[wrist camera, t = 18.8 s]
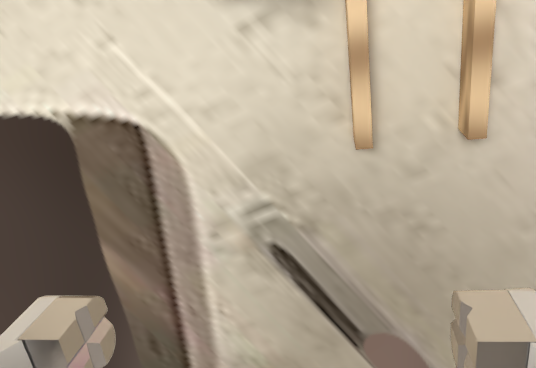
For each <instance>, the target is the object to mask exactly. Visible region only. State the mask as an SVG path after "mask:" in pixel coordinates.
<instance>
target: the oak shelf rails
mask: <svg viewBox="0 0 536 368" xmlns="http://www.w3.org/2000/svg"><path fill="white" fill-rule="evenodd" d="M345 2H346V19H347V35H348V51H349V68H350V84H351V100H352V117H353V133H354V142H355V148H356V150H357V149H369V148H373V142H372V119H371V96H370V72H369V49H368V26H367V2H366V0H345ZM495 10H496V0H464V4H463V28H462V52H461V76H460V100H459V124H458V129H459V130H460V131H461V132H462V133H463V135H464V136H465V137H466V138H467V139H468V140H471V139H483V138H487V124H488V110H489V95H490V81H491V67H492V53H493V38H494V24H495Z"/></svg>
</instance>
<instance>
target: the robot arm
mask: <svg viewBox="0 0 536 368" xmlns="http://www.w3.org/2000/svg"><path fill="white" fill-rule="evenodd" d="M451 307H452V310H453V312H454V315H455V318H456V319H455V320H454V321H453V322H452V323H451V346H452V352H453V357H454V361H455V364H456V367H457V368H536V291H535V290H533V289H532V288H512V289H504V290H465V291H453V295H452V305H451ZM107 310H108V309H107V306H106V304H105V301H104V299H103V298H101V297H99V296H43V297H40V298H38V299H37V300H36V301H35V302H34V303H33V304H32V305H31V306H30V307H29V308H28V309H27V310H26V311H25V312H24V313H23V314H22V315H21V316H20V317H19V318H18V319H17V320H16V321H15V322H14V323H13V324H12V325H11V326H10V327H9V328H8V329H7V330H6V331H5V332H4V333H3V334H2V335H1V336H0V368H102V367H104V366H105V365H107V363H108V361H109V360H110V358H111V356H112V355H113V351H114V347H115V342H116V341H115V331H114V328H113V325H112V324H111V323H110V322H109V321H108V320H107V319H106V318H105V315H106V313H107Z"/></svg>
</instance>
